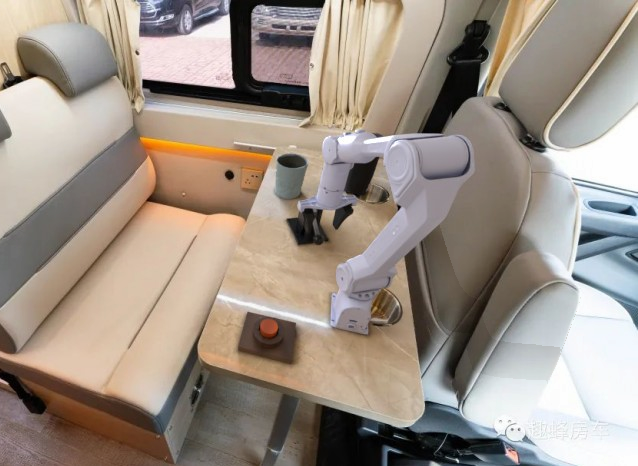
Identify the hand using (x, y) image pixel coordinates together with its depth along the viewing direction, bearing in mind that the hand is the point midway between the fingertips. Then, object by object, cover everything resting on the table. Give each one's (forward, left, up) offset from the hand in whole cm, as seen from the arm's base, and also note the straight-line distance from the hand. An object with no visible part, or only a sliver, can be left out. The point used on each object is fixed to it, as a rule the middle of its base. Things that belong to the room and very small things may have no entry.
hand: (321, 228), depth 86 cm
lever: (+5, +2, -4) cm, 6 cm away
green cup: (+27, +11, -8) cm, 30 cm away
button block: (-30, +8, -8) cm, 32 cm away
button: (-30, +8, -5) cm, 32 cm away
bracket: (+8, +3, -8) cm, 12 cm away
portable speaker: (+34, -11, -8) cm, 36 cm away
